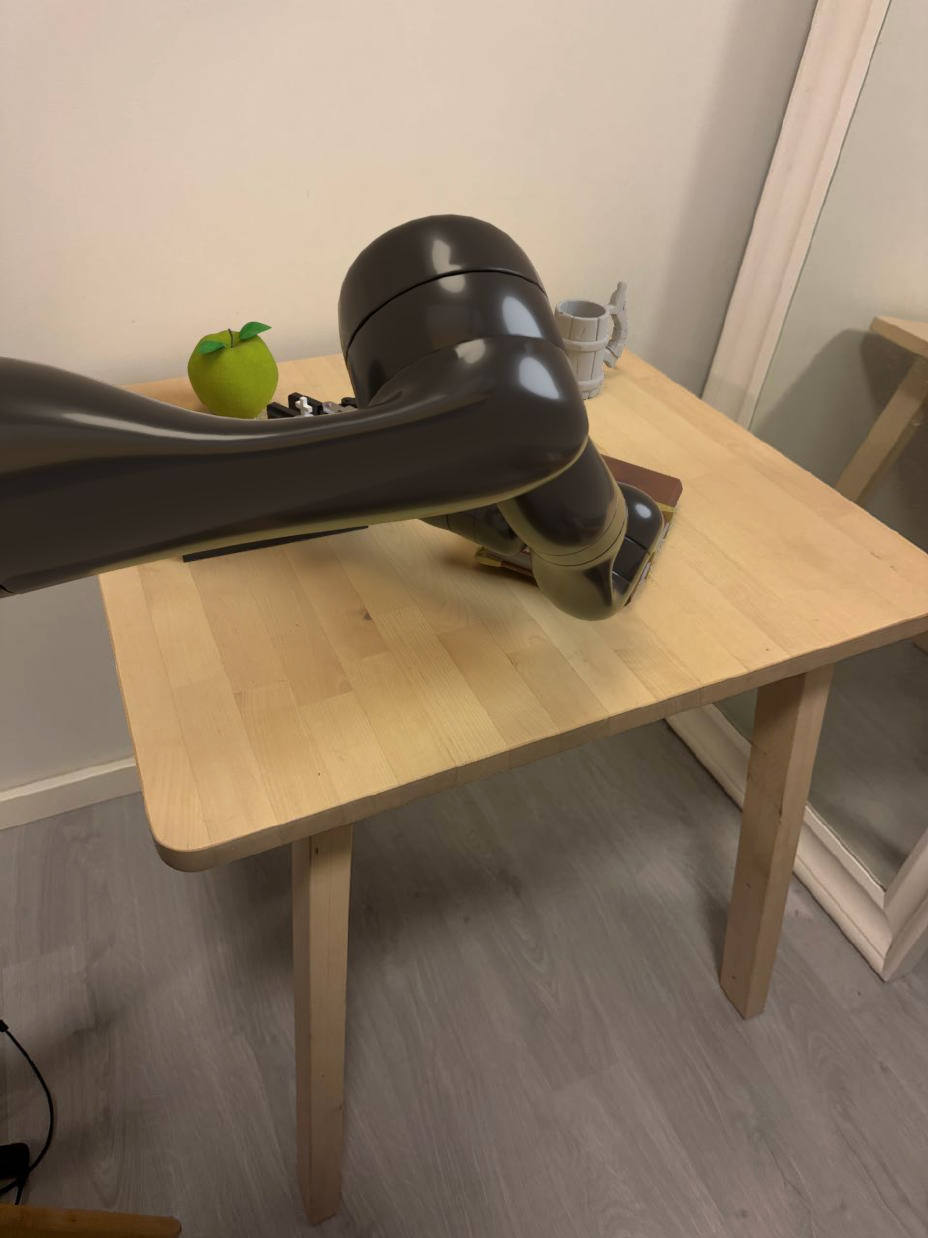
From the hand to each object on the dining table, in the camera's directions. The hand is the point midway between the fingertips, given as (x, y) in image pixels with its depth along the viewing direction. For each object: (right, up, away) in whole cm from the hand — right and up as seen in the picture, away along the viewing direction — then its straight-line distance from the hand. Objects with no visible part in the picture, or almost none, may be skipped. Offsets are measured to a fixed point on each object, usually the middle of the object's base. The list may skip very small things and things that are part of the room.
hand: (280, 408), depth 82 cm
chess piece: (+2, -8, +4) cm, 9 cm away
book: (+28, -10, +7) cm, 31 cm away
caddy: (-2, -10, +4) cm, 11 cm away
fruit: (-9, +4, +19) cm, 21 cm away
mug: (+32, +10, +30) cm, 45 cm away
